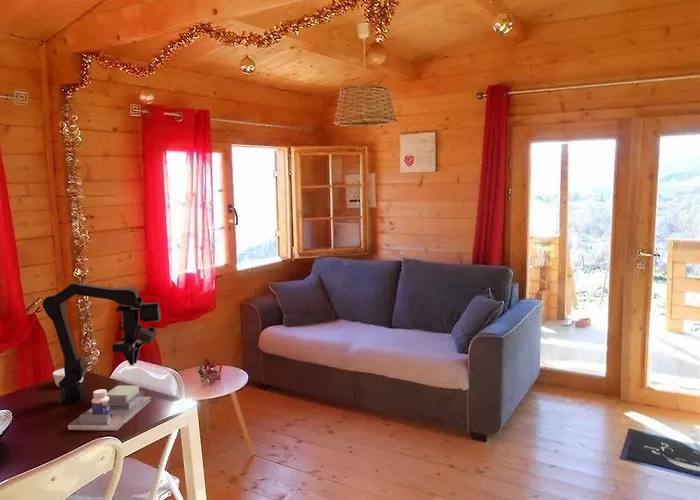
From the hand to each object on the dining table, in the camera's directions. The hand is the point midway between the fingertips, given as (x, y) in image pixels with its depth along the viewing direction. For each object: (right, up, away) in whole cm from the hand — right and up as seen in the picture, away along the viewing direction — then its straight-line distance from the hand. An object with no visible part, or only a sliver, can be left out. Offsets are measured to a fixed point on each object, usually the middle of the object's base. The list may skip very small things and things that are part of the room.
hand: (133, 364), depth 206 cm
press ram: (-1, -11, -9) cm, 14 cm away
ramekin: (-32, -11, +17) cm, 37 cm away
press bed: (-1, -14, -16) cm, 21 cm away
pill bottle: (-2, -13, -22) cm, 26 cm away
